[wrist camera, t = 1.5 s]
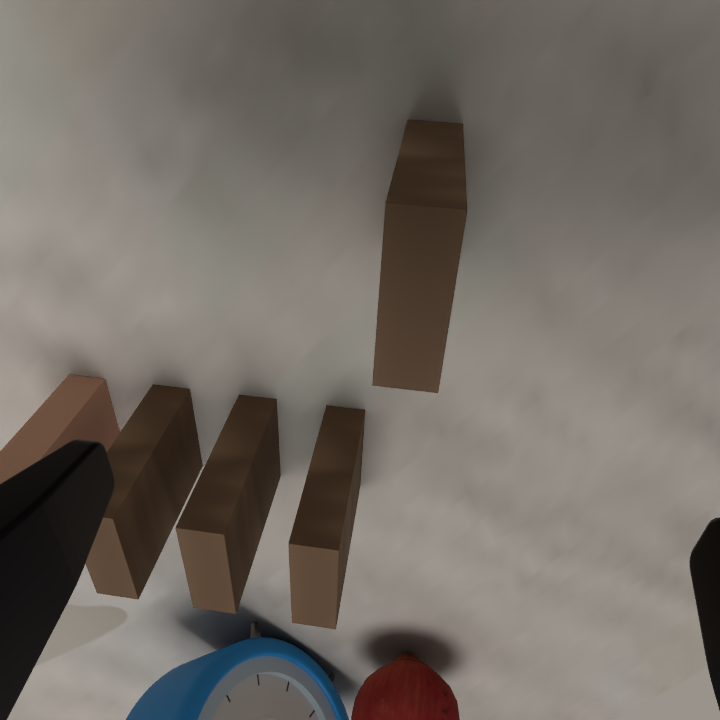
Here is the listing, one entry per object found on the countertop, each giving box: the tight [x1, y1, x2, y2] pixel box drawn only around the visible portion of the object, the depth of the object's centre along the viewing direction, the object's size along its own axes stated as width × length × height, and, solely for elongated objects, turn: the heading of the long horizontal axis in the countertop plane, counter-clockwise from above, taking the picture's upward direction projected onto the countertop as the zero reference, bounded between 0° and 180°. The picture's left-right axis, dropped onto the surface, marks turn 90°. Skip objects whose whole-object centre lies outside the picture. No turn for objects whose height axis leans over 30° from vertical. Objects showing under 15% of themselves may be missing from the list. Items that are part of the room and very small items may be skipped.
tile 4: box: [86, 385, 202, 599], centre depth 23 cm, size 2×5×7 cm, turn 178°
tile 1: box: [372, 120, 467, 393], centre depth 15 cm, size 2×5×7 cm, turn 178°
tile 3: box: [176, 395, 281, 614], centre depth 23 cm, size 2×5×7 cm, turn 177°
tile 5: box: [0, 374, 120, 484], centre depth 23 cm, size 2×5×7 cm, turn 177°
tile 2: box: [289, 405, 365, 629], centre depth 22 cm, size 2×5×7 cm, turn 178°
